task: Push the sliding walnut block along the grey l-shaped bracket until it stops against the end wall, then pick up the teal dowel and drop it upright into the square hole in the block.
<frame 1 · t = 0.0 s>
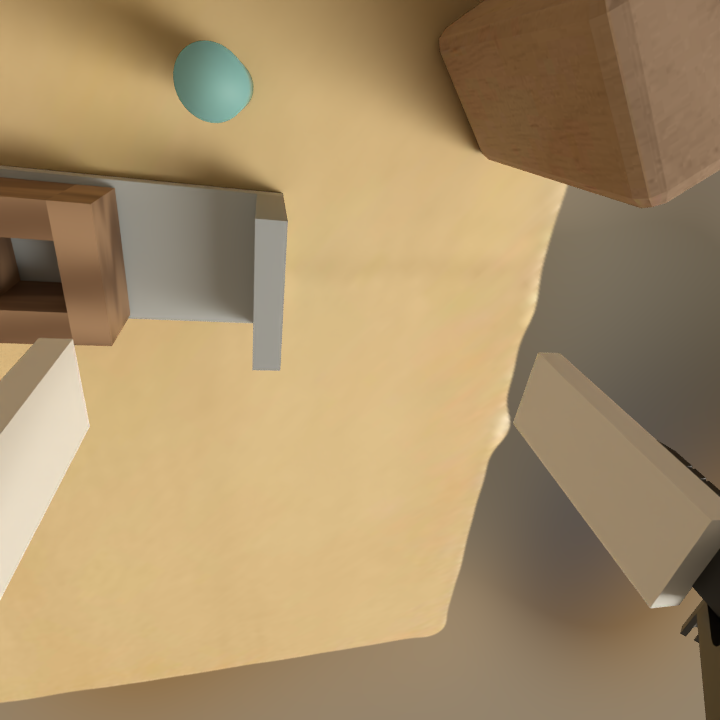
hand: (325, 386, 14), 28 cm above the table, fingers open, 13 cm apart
block: (513, 65, 36), on the table
grey l-shaped bracket: (141, 250, 37), on the table
walnut block: (35, 262, 33), point 4 cm above the table, slide at 0.0 cm
teal dowel: (230, 84, 33), on the table
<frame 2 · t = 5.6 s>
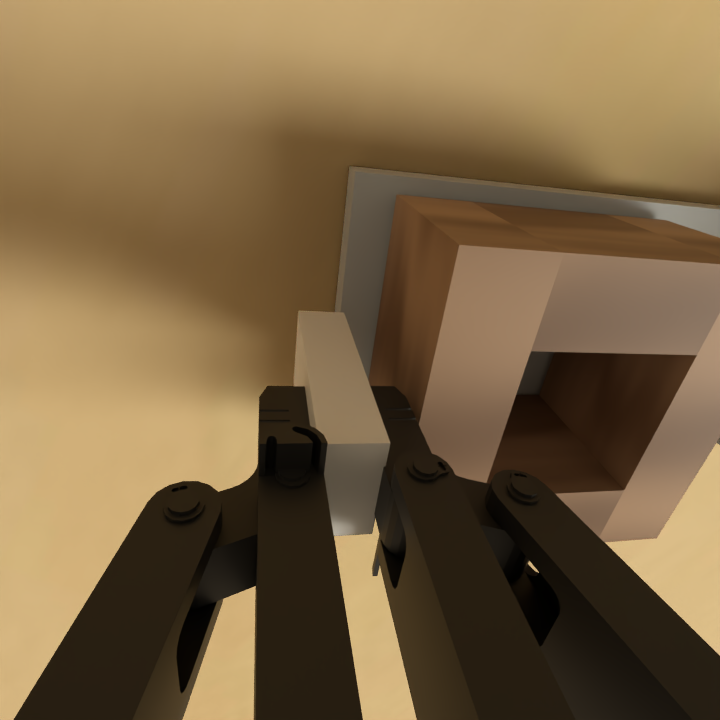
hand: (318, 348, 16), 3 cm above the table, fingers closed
grey l-shaped bracket: (584, 327, 20), on the table
walnut block: (535, 378, 16), point 4 cm above the table, slide at 1.3 cm, touching gripper
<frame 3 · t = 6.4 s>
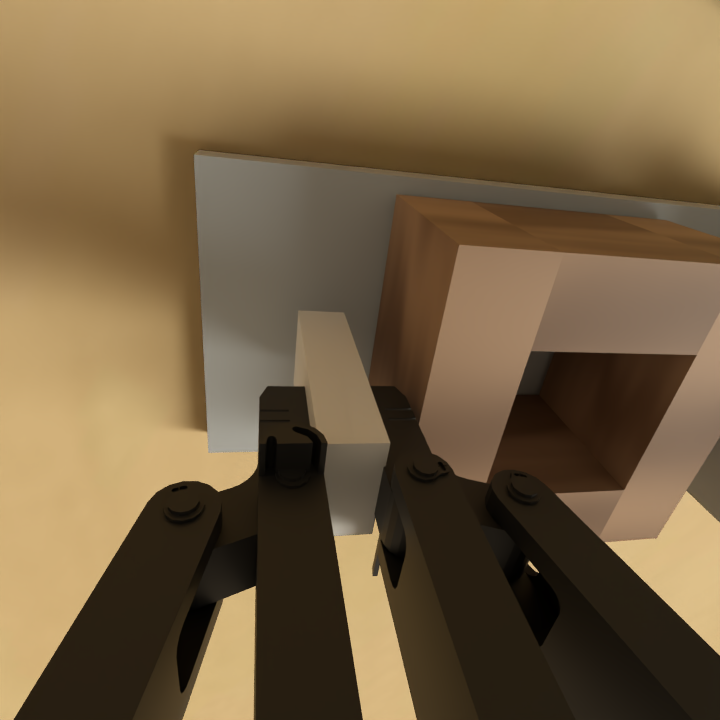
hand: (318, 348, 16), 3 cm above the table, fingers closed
grey l-shaped bracket: (484, 324, 19), on the table
walnut block: (535, 378, 16), point 4 cm above the table, slide at 6.0 cm, touching gripper
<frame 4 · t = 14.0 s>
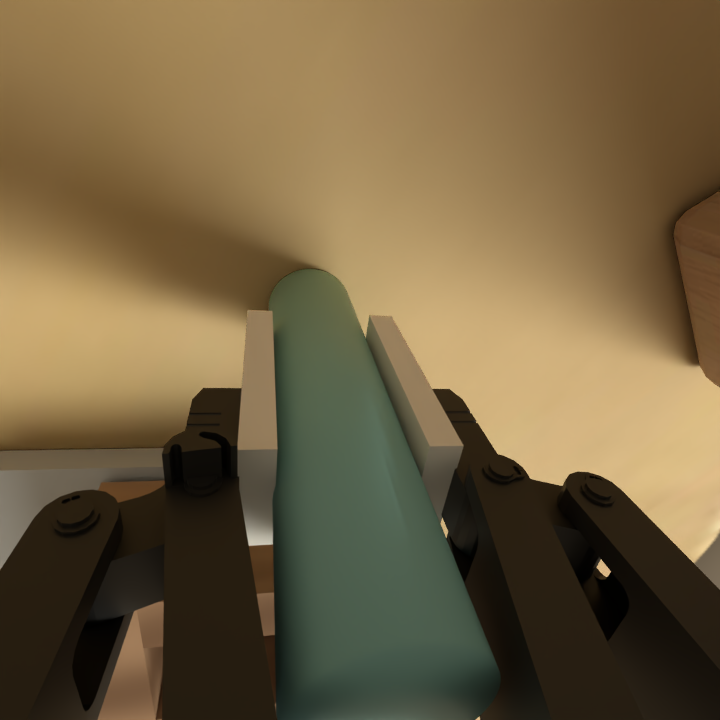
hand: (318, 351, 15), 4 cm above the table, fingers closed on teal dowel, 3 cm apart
grey l-shaped bracket: (148, 534, 23), on the table
walnut block: (225, 609, 20), point 4 cm above the table, slide at 9.9 cm
teal dowel: (309, 307, 18), on the table, touching gripper
when the fingers open (8 cm above the table, at t = 19.3 s): teal dowel drops 3 cm, resting on grey l-shaped bracket.
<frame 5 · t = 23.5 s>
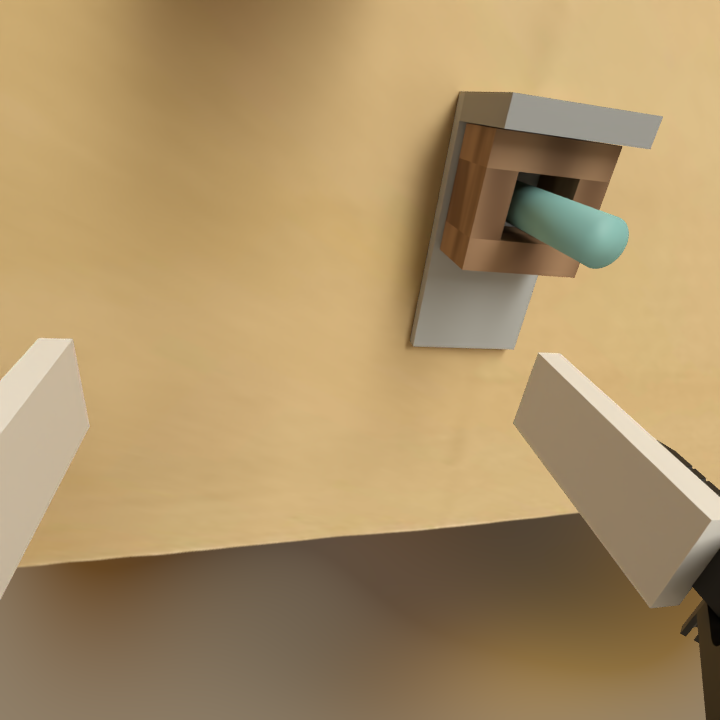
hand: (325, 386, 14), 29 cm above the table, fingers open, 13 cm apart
grey l-shaped bracket: (487, 236, 43), on the table
walnut block: (522, 202, 37), point 4 cm above the table, slide at 9.9 cm
teal dowel: (502, 196, 40), point 1 cm above the table, touching grey l-shaped bracket
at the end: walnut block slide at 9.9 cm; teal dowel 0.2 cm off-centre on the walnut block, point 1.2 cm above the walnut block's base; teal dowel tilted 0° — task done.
